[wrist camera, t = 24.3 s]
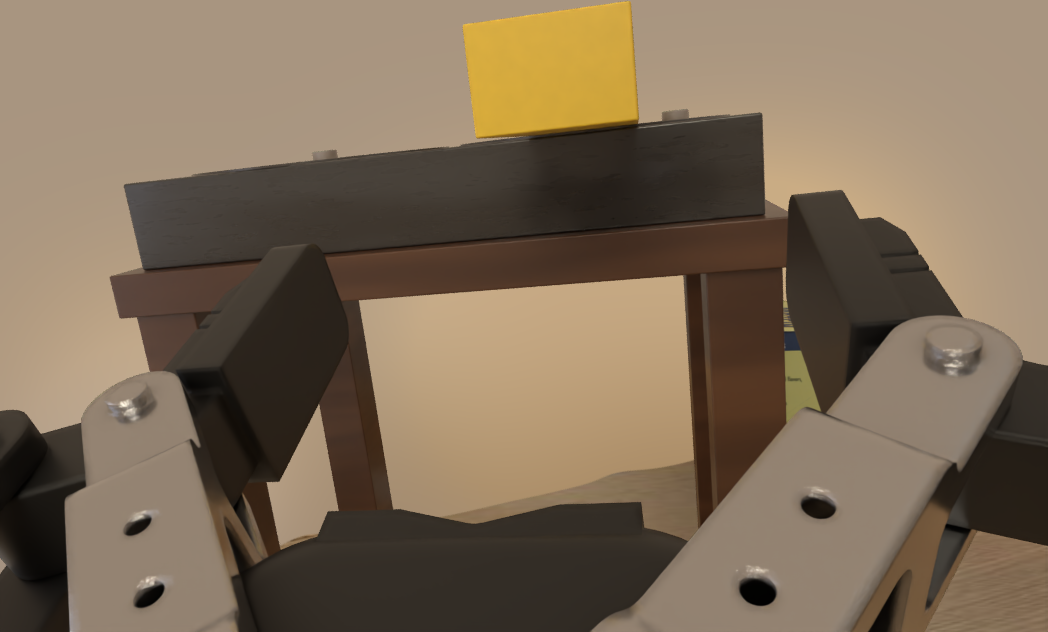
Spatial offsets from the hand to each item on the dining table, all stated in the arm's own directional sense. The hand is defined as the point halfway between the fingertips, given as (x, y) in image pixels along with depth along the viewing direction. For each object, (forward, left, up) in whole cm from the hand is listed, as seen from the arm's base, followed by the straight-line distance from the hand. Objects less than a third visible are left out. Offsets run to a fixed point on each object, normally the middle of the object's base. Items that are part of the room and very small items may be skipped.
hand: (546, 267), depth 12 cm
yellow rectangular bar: (-13, -17, +2) cm, 22 cm away
